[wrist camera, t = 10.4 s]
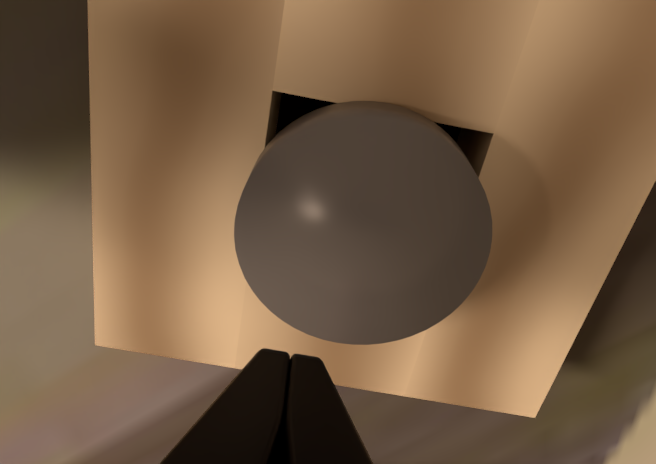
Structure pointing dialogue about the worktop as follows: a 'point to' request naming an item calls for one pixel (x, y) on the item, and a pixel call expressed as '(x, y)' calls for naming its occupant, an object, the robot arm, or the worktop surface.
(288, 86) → the mount board
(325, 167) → the knob
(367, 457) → the robot arm
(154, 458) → the worktop surface
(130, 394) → the worktop surface
